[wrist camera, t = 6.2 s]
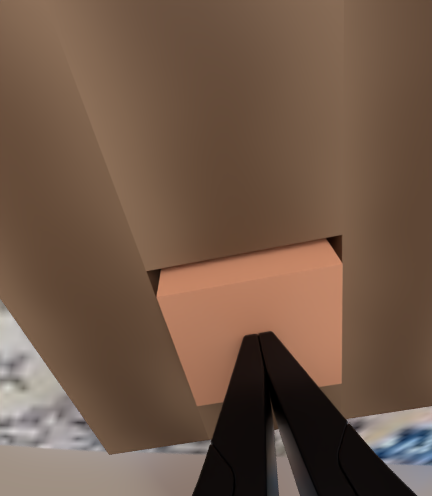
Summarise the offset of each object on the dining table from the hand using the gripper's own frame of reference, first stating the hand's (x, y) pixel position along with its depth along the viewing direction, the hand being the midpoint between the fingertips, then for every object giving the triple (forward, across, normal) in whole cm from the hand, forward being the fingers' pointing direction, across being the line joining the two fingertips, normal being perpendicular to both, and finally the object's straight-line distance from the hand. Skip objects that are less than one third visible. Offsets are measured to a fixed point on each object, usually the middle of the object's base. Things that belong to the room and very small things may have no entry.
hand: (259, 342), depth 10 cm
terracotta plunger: (+3, 0, 0) cm, 3 cm away
